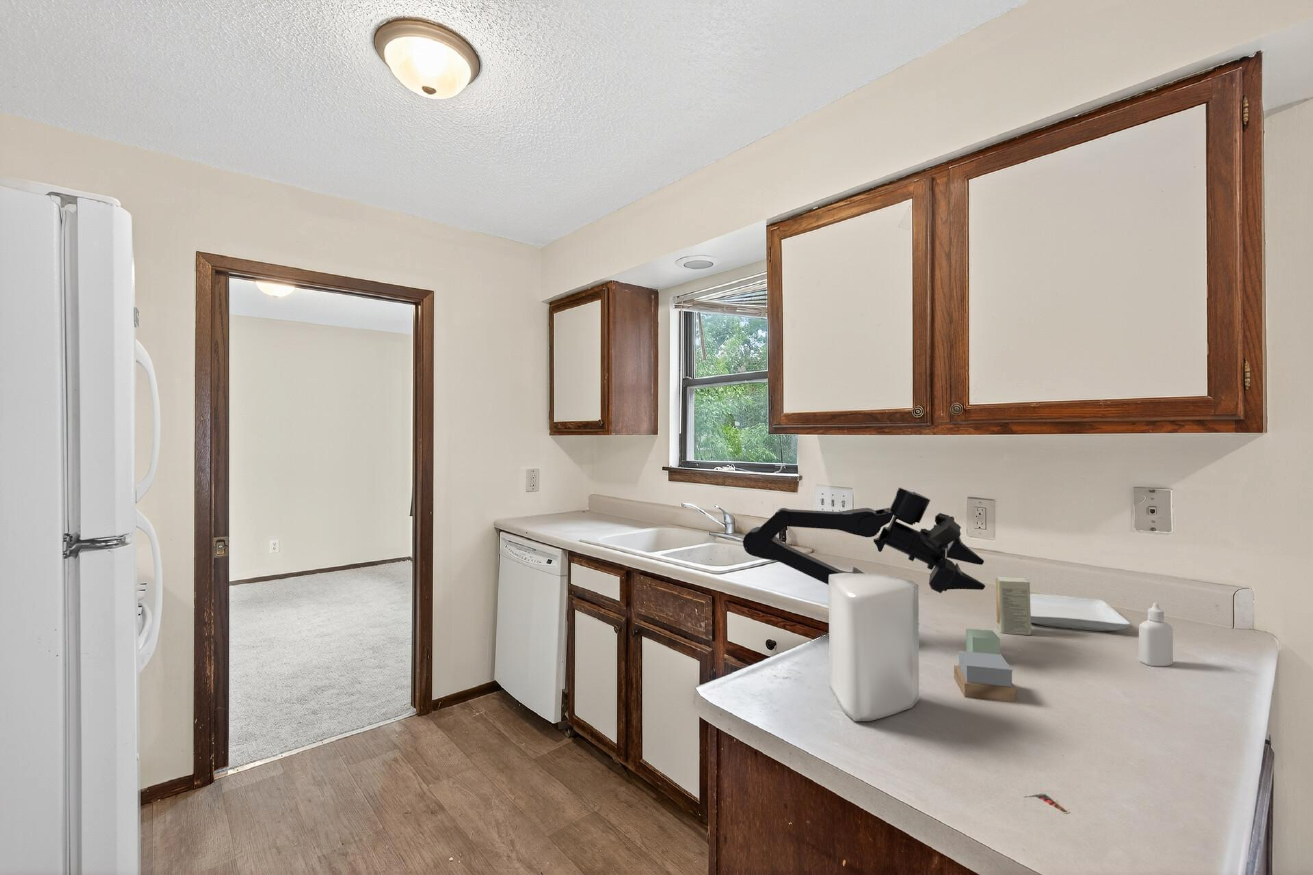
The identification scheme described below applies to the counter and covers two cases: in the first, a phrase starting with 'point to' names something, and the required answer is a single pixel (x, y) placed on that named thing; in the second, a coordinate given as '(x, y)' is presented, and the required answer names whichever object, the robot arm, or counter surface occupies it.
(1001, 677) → the blue-grey square block
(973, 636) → the stack block
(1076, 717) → the counter surface
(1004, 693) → the tower base
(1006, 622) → the skincare box
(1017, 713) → the counter surface
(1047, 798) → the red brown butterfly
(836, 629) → the white triangular prism
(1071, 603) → the salad plate
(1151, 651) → the eye dropper bottle
